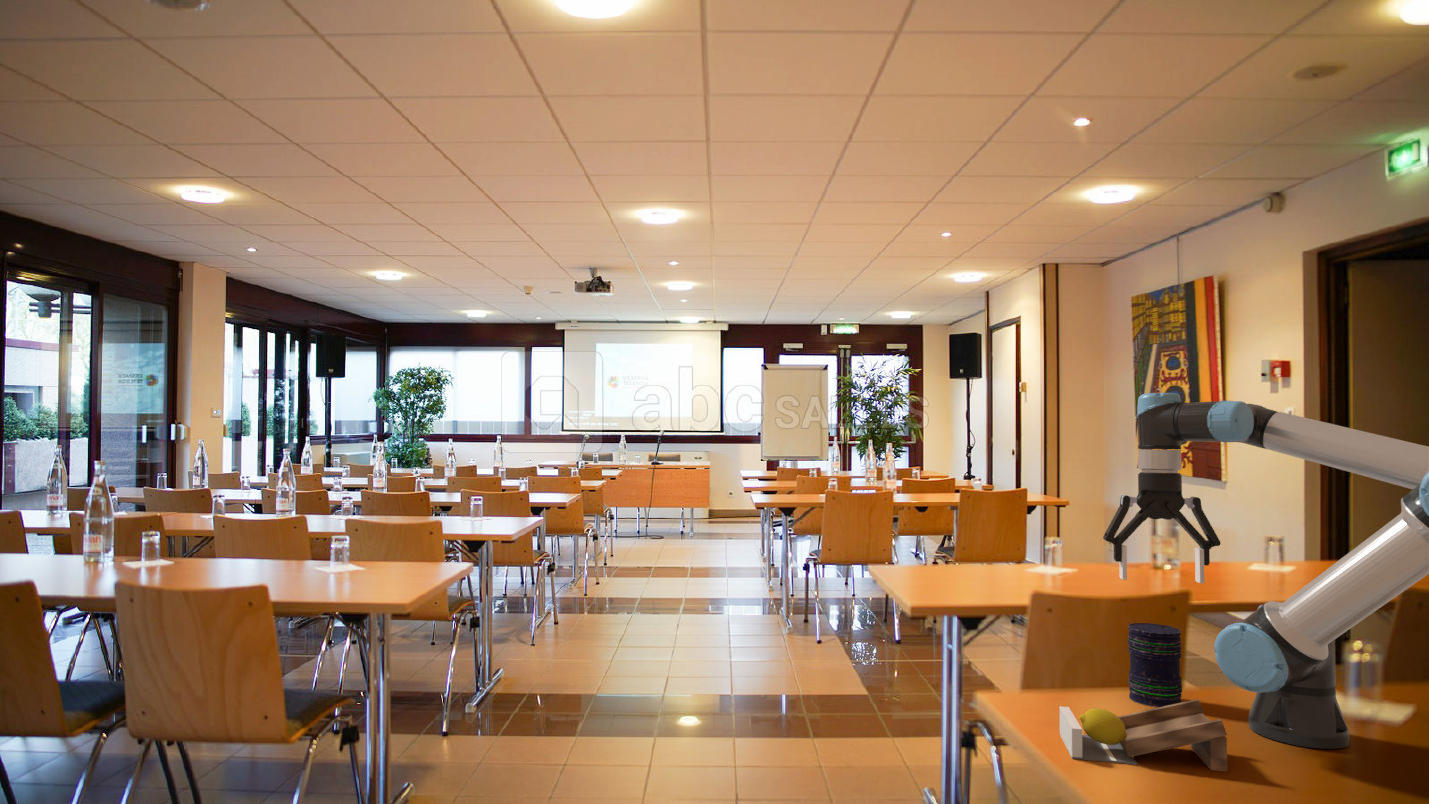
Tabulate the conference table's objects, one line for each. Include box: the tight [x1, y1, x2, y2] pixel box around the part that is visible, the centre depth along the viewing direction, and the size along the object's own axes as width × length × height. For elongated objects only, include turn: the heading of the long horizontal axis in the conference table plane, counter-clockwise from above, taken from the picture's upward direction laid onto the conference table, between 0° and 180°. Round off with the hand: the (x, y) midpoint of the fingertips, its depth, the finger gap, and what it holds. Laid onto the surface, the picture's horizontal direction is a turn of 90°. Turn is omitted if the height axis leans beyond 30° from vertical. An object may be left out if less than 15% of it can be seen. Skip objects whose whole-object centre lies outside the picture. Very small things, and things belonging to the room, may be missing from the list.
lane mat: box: [1060, 734, 1138, 766], centre depth 142 cm, size 10×12×1 cm
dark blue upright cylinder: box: [1127, 622, 1183, 708], centre depth 170 cm, size 10×10×15 cm
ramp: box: [1117, 698, 1228, 772], centre depth 139 cm, size 15×12×8 cm
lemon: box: [1079, 707, 1127, 745], centre depth 141 cm, size 6×6×8 cm
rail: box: [1059, 705, 1083, 761], centre depth 143 cm, size 2×12×5 cm, turn 167°
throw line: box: [1101, 743, 1117, 764], centre depth 141 cm, size 1×12×1 cm, turn 166°
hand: (1161, 580), depth 159 cm, fingers open, 13 cm apart
